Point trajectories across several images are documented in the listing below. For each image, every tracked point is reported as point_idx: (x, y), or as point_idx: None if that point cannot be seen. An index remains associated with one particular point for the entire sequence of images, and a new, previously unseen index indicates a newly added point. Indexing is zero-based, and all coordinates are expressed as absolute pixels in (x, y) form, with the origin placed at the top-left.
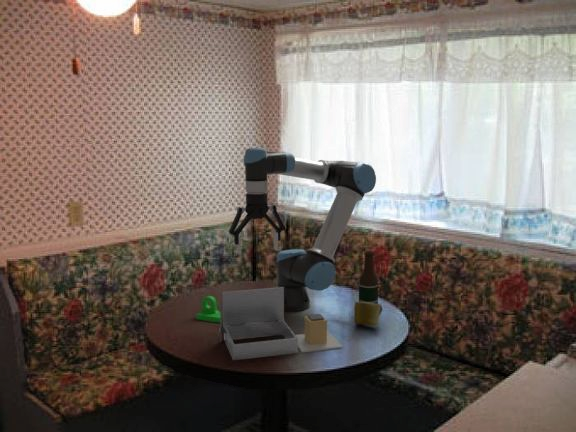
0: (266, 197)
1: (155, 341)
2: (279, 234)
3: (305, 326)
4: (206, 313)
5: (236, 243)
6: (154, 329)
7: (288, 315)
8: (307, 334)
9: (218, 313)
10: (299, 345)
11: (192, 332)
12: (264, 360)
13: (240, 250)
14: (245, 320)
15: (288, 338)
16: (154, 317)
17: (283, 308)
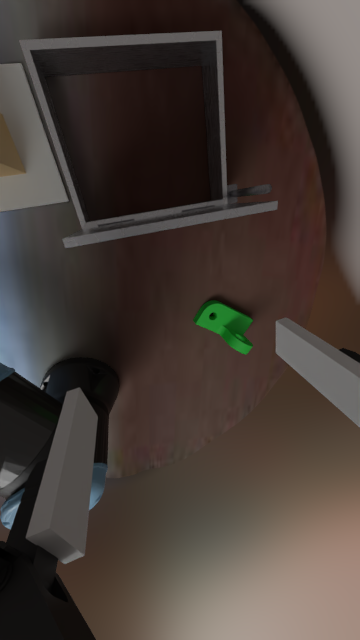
0: None
1: (324, 216)
2: (20, 524)
3: (6, 155)
4: (237, 324)
5: (346, 354)
6: (314, 273)
7: (84, 332)
8: (3, 135)
9: (218, 324)
10: (34, 116)
11: (263, 254)
12: (129, 30)
13: (294, 328)
14: (181, 212)
15: (53, 48)
16: (304, 324)
17: (78, 231)
